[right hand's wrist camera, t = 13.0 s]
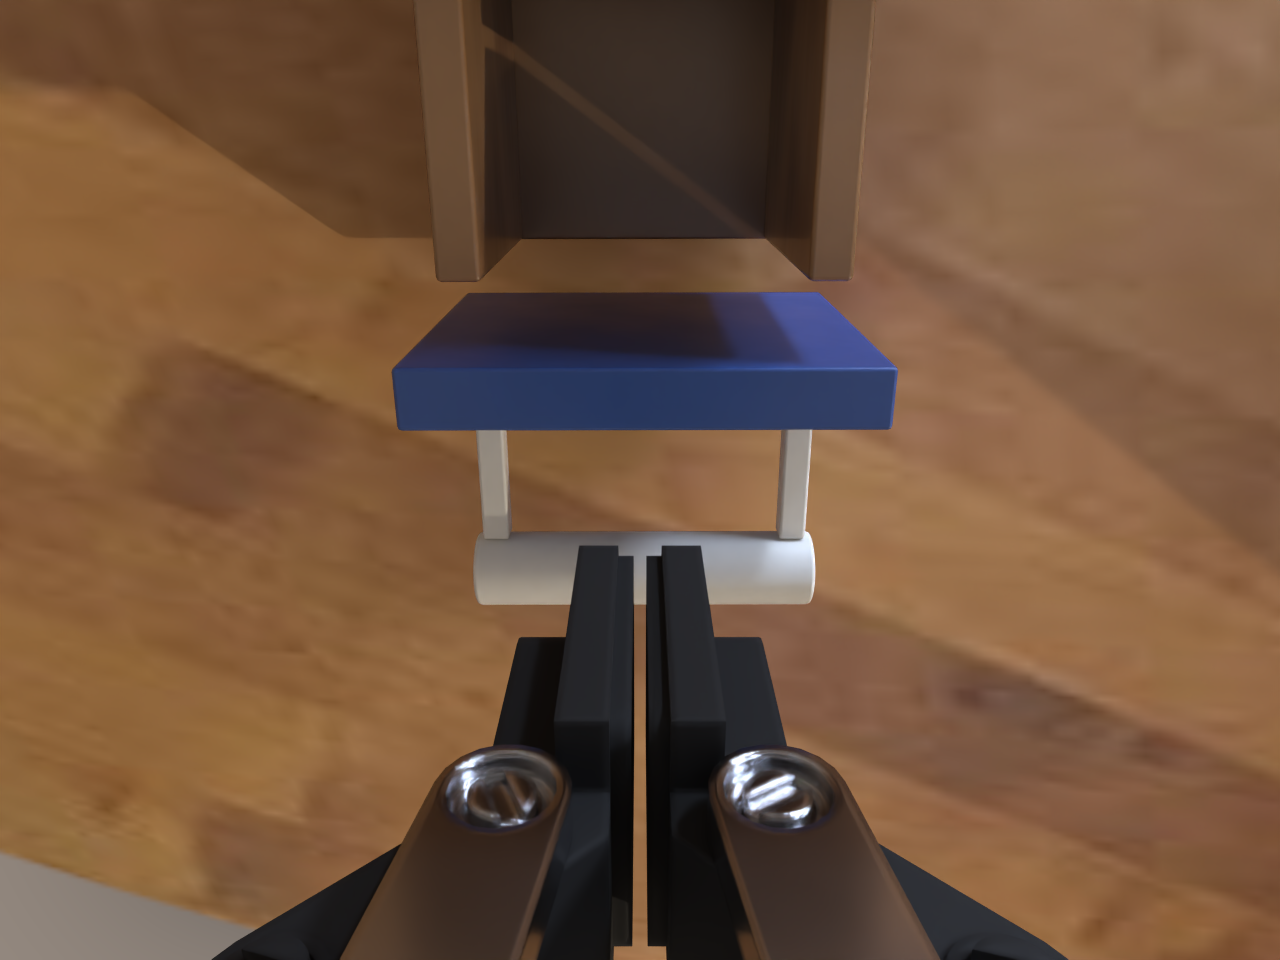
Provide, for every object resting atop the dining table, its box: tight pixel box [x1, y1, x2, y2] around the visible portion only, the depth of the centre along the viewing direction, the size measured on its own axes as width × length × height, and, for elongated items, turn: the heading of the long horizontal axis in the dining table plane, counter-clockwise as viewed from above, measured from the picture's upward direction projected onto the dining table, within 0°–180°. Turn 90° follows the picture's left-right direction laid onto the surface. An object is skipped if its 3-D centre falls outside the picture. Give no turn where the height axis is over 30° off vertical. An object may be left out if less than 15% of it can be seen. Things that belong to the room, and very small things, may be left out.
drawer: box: [392, 0, 898, 605], centre depth 18 cm, size 21×9×8 cm, turn 0°
